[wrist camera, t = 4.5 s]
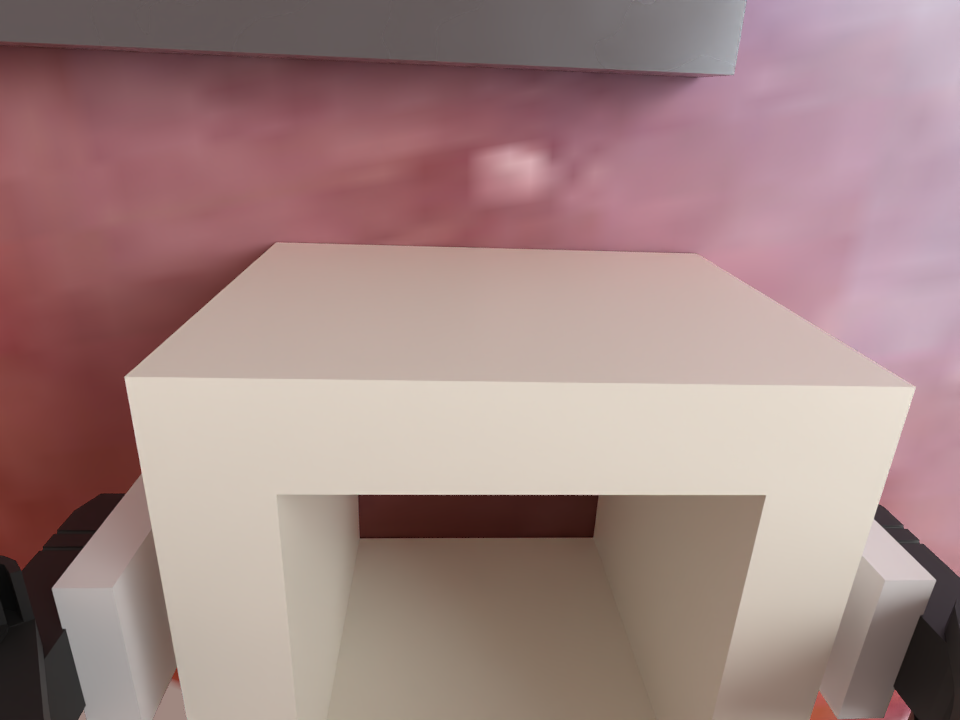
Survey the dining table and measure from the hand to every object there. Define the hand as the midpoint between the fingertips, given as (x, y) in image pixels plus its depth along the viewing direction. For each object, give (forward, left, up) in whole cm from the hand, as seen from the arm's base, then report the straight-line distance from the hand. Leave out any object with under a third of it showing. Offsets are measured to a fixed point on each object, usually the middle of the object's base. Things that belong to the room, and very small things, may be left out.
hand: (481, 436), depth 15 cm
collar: (0, 0, 0) cm, 0 cm away
